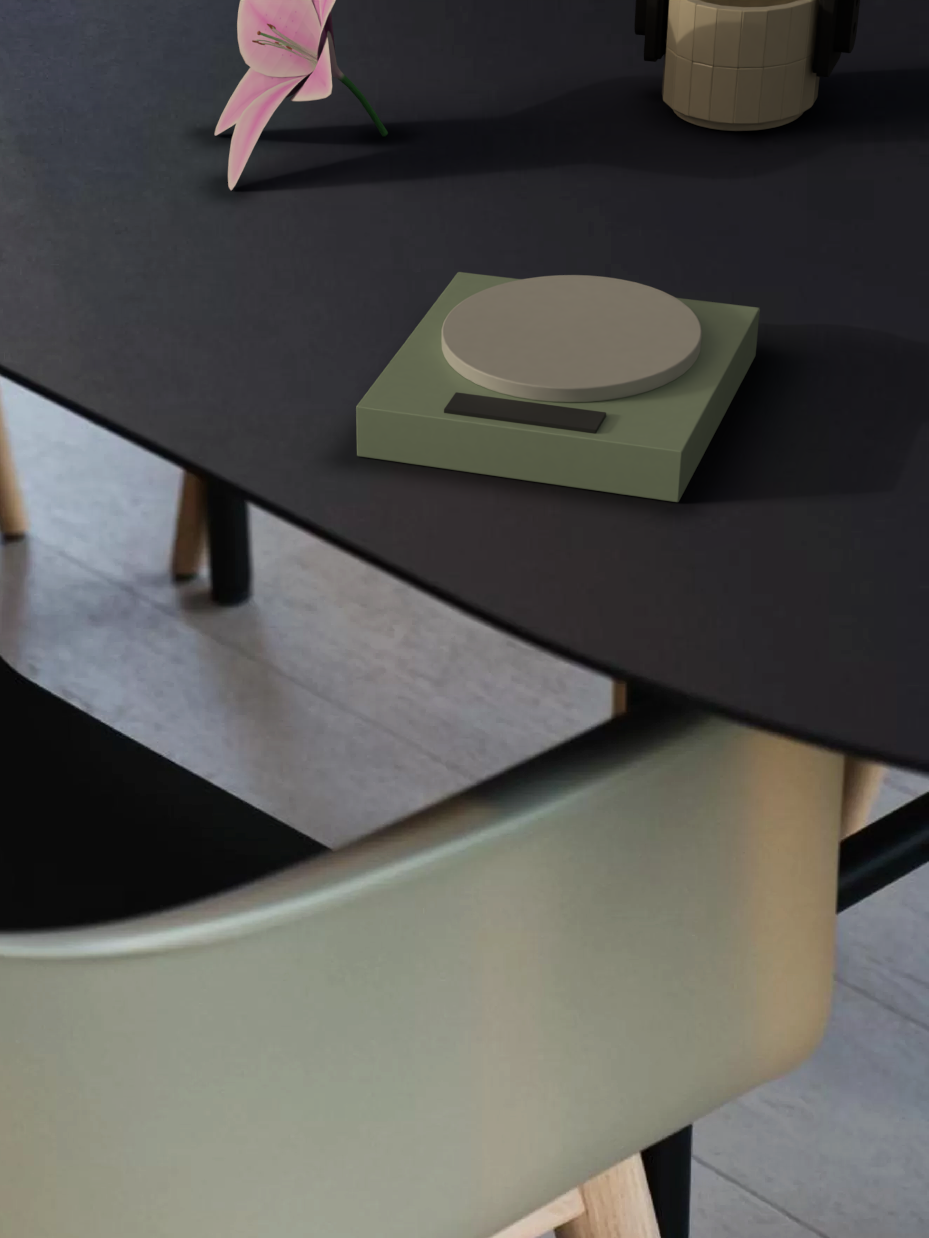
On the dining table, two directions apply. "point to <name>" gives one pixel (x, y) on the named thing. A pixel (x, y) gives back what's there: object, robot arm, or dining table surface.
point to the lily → (280, 68)
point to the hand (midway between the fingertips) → (742, 55)
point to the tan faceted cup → (740, 62)
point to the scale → (561, 383)
